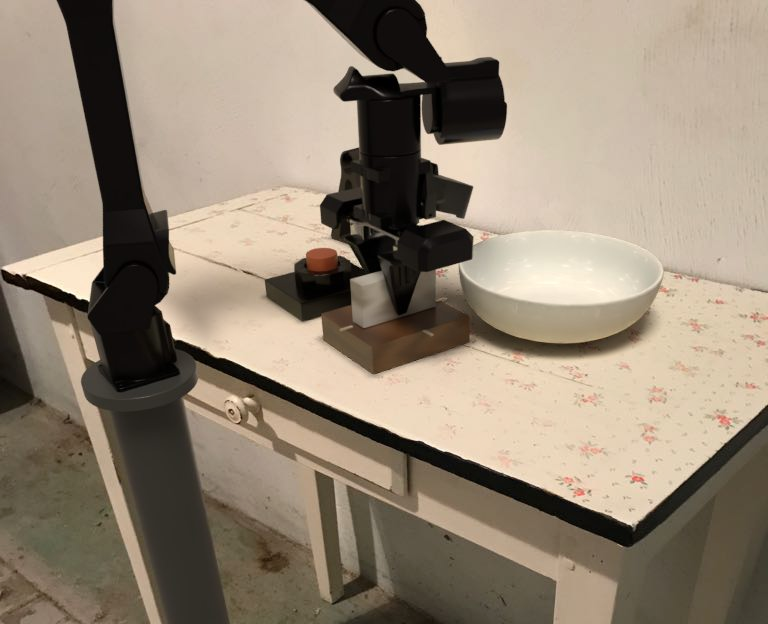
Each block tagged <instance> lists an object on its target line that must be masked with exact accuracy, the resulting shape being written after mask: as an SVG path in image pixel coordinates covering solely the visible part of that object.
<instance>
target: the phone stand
mask: <svg viewBox="0 0 768 624" xmlns="http://www.w3.org/2000/svg"><path fill="white" fill-rule="evenodd" d="M359 159H360V156H359V146H358V147H354V148H351V149H347V150H346V149H345V150H344V151H342V152H341V154H340V156H339V165H340V180H339V184H338V191H337V192H341V191H345V190H350V189H354V188H359V187H361V176H359V175H357V174H354V173H352V172H351V161H354V160H359ZM348 235H351V225H350V222H348V221H347V218H346V219H342V223H341V225H340V227H339V228H338V229H332V228H331V232H330V237H331V238H332V239H333V240H335V241H339V242H341V243H344V244H347V243H346V242H345V237H346V236H348Z"/></svg>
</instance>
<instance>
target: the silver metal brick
mask: <svg viewBox="0 0 768 624" xmlns="http://www.w3.org/2000/svg"><path fill="white" fill-rule="evenodd" d="M350 285H351V301H352V317H353V322H354V323H356V324H358V325H359V326H361V327H362V328H367V327H370V326H374V325H377V324H380V323H383V322H387V321H390V320H393V319H397V318H400V317H403V316H406V315H410V314H413V313H416V312H419V311H423V310H426V309H429V308H432V307H436V298H437V269H436V270H433V271H429V272H421V273H420V276H419V278H418V281H417V284H416V287H415V290H414V293H413V296H412V299H411V302H410V304H409V307H408V310H407V312H406V313H405V314H402V315H398V314H396V312H395V309H394V306H393V304H392V301H391V298H390V294H389V291H388V288H387V285H386V282H385V278H384V275H383V272H382V271H379V272H375V273H371V274H368V275H364V276H360V277H357V278H353V279H350Z"/></svg>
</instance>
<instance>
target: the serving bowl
mask: <svg viewBox="0 0 768 624" xmlns="http://www.w3.org/2000/svg"><path fill="white" fill-rule="evenodd" d="M458 273H459V274H458V276H459V281H460V286H461V289H462V293H463V296H464V297H465V299H466V302H467V303H468V304H469V306H470V308H471V309H472V311H473V312H474V313H475V314H476V315H477V316H478V317H479V318H480V319H481V320H483V321H484V322H485V323H487V324H488V325H490V326H491V327H493V328H494V329H497V330H498V331H501V332H503V333H505V334H507V335H510V336H513V337H516V338H519V339H524V340H529V341H534V342H537V343H538V342H540V343H548V344H579V343H586V342H591V341H596V340H597V341H598V340H600V339H605V338H607V337H610V336H613V335H615V334H618V333H621V332H623V331H624V330H626V329H628V328H629V327H630V326H632V325H634V324H635V323H636V322H638V321H639V320H640V319H641V318H642V317H643V316H644V315H645V314H646V312H648V310H649V309H650V308H651V306H652V305H653V303H654V301H655V300H656V297H657V295H658V293H659V291H660V289H661V285H662V283H663V280H664V275H665V269H664V265H663V264H662V262H661V261H660V259H658V258H657V256H655V254H653V253H652V252H650V251H649V250H647V249H646V248H643V247H642V246H639V245H637V244H635V243H632V242H630V241H627V240H624V239H621V238H617V237H613V236H609V235H604V234H598V233H594V232H587V231H576V230H563V229H562V230H560V229H559V230H558V229H545V230H541V229H540V230H528V231H518V232H511V233H506V234H501V235H496V236H493V237H490V238H487V239H483V240H481V241H479V242H477V243H475V244H473V258H472V260H468V261H465V262H461V263H458Z"/></svg>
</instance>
